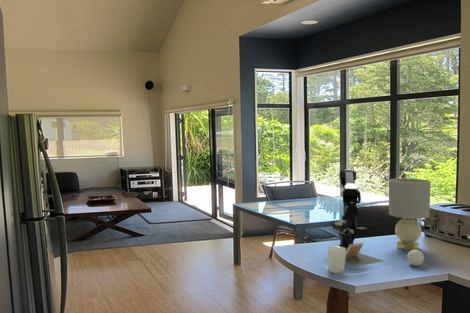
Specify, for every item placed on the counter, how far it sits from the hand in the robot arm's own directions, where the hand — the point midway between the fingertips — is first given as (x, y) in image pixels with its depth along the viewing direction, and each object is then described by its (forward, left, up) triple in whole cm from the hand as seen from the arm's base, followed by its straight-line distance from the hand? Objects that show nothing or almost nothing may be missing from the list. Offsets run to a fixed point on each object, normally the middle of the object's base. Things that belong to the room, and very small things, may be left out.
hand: (349, 246), depth 231 cm
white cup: (+12, -20, -6) cm, 24 cm away
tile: (0, 0, -5) cm, 5 cm away
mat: (+5, 0, -6) cm, 8 cm away
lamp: (0, +41, -6) cm, 42 cm away
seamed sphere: (+23, +16, -6) cm, 29 cm away
